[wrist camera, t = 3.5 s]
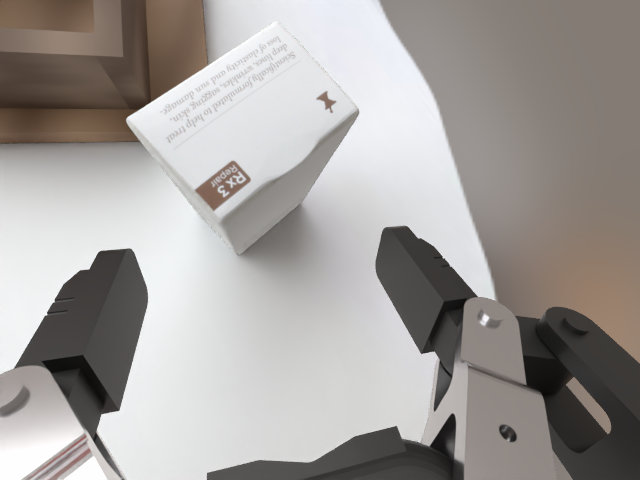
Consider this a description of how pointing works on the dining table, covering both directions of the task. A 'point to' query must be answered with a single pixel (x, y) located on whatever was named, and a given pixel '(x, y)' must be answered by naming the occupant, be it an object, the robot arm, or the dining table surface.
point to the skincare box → (248, 134)
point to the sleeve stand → (91, 64)
